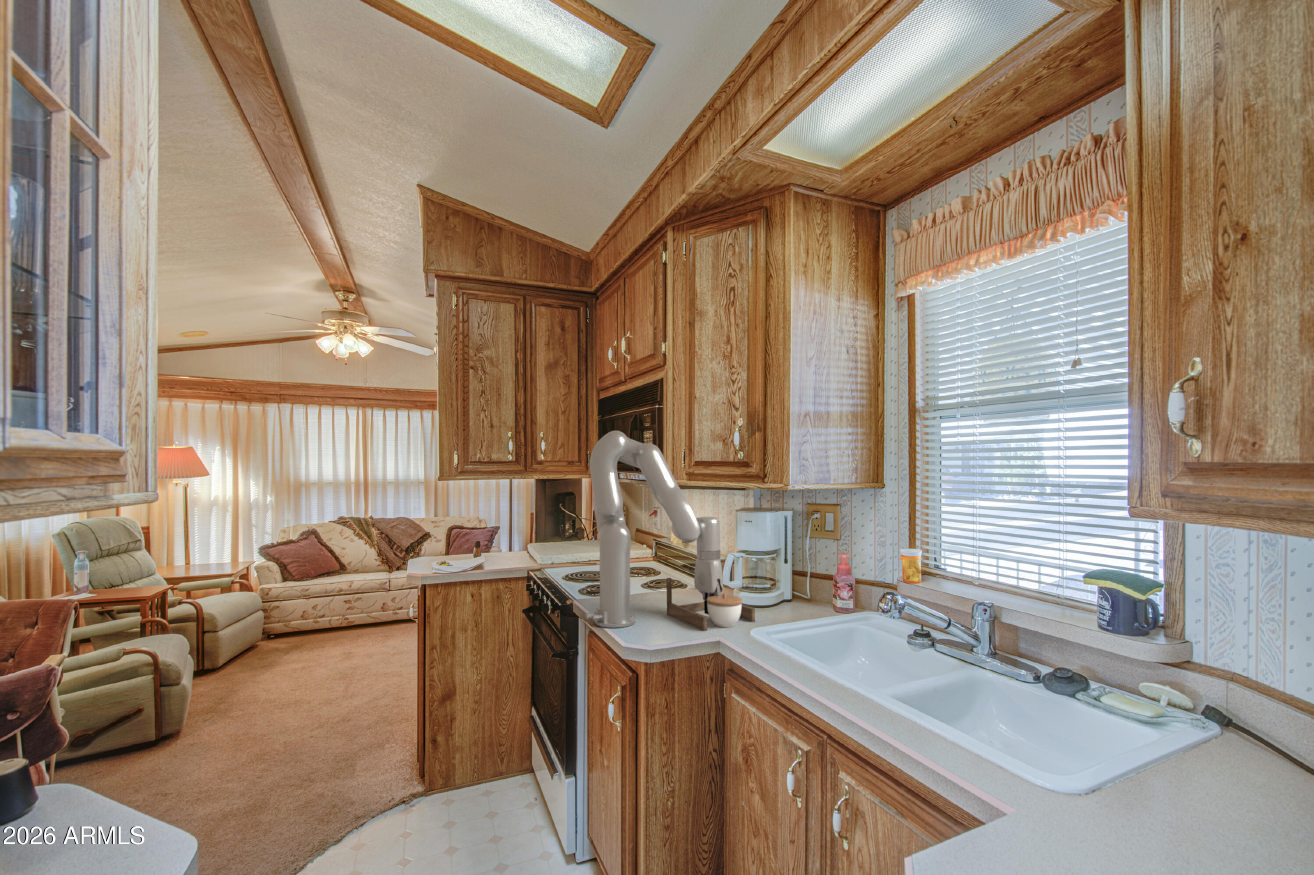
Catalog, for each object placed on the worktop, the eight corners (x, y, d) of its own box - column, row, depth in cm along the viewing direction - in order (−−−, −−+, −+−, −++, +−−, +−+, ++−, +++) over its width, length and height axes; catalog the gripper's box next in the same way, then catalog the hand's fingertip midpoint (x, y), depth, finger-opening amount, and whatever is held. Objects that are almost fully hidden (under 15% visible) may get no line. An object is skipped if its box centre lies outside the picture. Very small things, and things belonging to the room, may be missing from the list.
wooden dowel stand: (703, 631, 164) (702, 589, 165) (666, 615, 182) (666, 578, 183) (755, 621, 173) (754, 582, 174) (715, 607, 192) (714, 572, 193)
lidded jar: (728, 631, 163) (728, 599, 164) (700, 624, 170) (699, 593, 171) (749, 623, 171) (748, 592, 171) (721, 617, 178) (720, 588, 179)
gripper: (686, 553, 184) (687, 610, 183) (712, 559, 171) (714, 620, 170) (704, 551, 188) (705, 607, 187) (732, 557, 175) (733, 616, 174)
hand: (709, 613), depth 178 cm, fingers closed
